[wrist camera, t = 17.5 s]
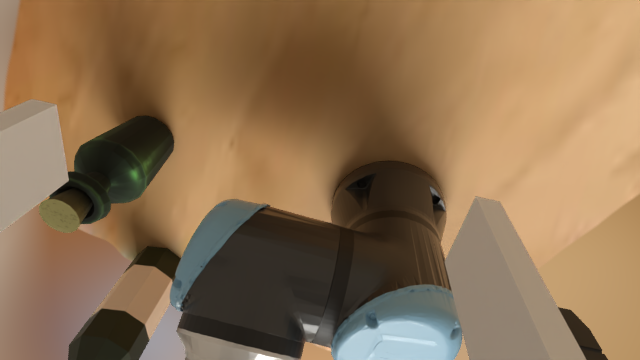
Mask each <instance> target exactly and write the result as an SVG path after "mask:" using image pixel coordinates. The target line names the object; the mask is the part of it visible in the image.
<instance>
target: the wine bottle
mask: <svg viewBox="0 0 640 360" xmlns="http://www.w3.org/2000/svg"><path fill="white" fill-rule="evenodd" d="M180 260H181V259H180V258H179V257H178V256H176V255H175V254H174V253H172V252H171V251H170V250H169V249H167V248H158V247H146V248H145V249H144V250H143V251H142V252H141V253H140V254H138V255H137V256H136V258H135V259H134V260H133V262H132V263H131V264H130V265H129V267H128V268H127V269H126V271H125V272H124V273H123V275H122V276H121V277H120V279H119V280H118V281H117V283H116V284H115V285H114V287H113V288H112V289H111V291H110V292H109V293H108V295H107V296H106V297H105V298H104V300H103V301H102V302H101V304H100V305H99V306H98V308H97V309H96V310H95V312H94V313H93V314H92V316H91V317H90V318H89V320H88V321H87V322H86V324H85V325H84V326H83V328H82V329H81V330H80V332H79V333H78V334H77V335H76V337H75V338H74V339H73V341H72V342H71V343H70V345H69V355H68V356H69V357H68V360H139V358H140V356H141V354H142V353H143V350H144V349H145V347H146V345H147V344H148V342H149V340H150V338H151V337H152V335H153V333H154V331H155V329H156V328H157V326H158V324H159V322H160V320H161V318H162V317H163V315H164V313H165V311H166V310H167V308H168V306H169V304H170V290H171V286H172V284H173V281H174V279H175V277H176V276H175V273H176V270H177V267H178V265H179V262H180Z"/></svg>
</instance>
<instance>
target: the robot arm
mask: <svg viewBox="0 0 640 360" xmlns="http://www.w3.org/2000/svg"><path fill="white" fill-rule="evenodd" d="M68 181H69V178H68V171H67V165H66V159H65V153H64V147H63V141H62V135H61V129H60V123H59V117H58V110H57V104H52V103H48V102H43V101H39V100H34V99H31V100H28V101H26V102H24V103H21V104H19V105H17V106H14V107H12V108H10V109H7V110H5V111H3V112H0V232H2V231H3V230H5V229H6V228H7V227H8V226H10V225H11V224H12V223H14V222H15V221H16V220H18V219H19V218H20V217H22V216H23V215H24V214H26V213H27V212H28V211H29V210H31V209H32V208H33V207H35V206H36V205H37V204H39V203H40V202H41V201H43V200H44V199H45V198H47V197H48V196H49V195H51V194H52V193H53V192H55V191H56V190H57V189H58V188H60V187H61V186H62V185H64V184H65V183H66V182H68ZM331 220H332V224H331V223H328V222H324V221H320V220H317V219H313V218H309V217H305V216H302V215H298V214H294V213H291V212H287V211H283V210H280V209H276V208H273V207H270V205H268V204H257V203H252V202H247V201H242V200H238V199H229V200H225V201H223V202H221V203H219V204H218V205H216V206H215V207H214V208H213V209H212V210H211V211H210V212H209V213H208V214H207V215H206V217H205V218H204V219H203V220H202V222H201V223H200V225H199V226H198V228H197V229H196V231H195V233H194V234H193V236H192V238H191V240H190V241H189V243H188V245H187V247H186V249H185V251H184V253H183V256H182V258H181V260H180V262H179V265H178V267H177V270H176V273H175V276H176V277H175V279H174V281H173V284H172V286H171V290H170V303H171V304H172V306H174V307H175V308H176V309H177V311H182V312H183V314H182V317H181V319H180V322H179V325H178V328H177V333H178V336H179V338H180V340H181V342H182V344H183V346H184V349H185V353H186V358H185V360H301V356H302V352H303V347H304V343H305V342H310V343H315V344H319V345H322V346H326V347H330V348H331V350H332V351H331V354H332V356H333V359H334V360H454V359H455V357H456V356H457V354H458V352H459V349H460V347H461V343H462V332H463V336H464V340H465V344H466V347H467V351H468V356H469V359H470V360H608V359H607V358H606V356H605V355H604V354H602V349H601V347H600V346H599V344H598V343H597V341H596V339H595V337H594V336H593V334H592V333H591V331H590V329H589V328H588V327H587V326H586V325H585V324H584V323H583V322H582V321H581V320H580V319H579V318H578V317H577V316H576V315H575V314H574V313H573V312H572V311H571V310H568V309H563V308H559V307H557V305H556V303H555V301H554V299H553V298H552V296H551V294H550V292H549V290H548V289H547V287H546V285H545V283H544V281H543V279H542V277H541V276H540V274H539V272H538V270H537V268H536V267H535V265H534V263H533V261H532V259H531V257H530V256H529V254H528V252H527V250H526V248H525V246H524V245H523V243H522V241H521V239H520V237H519V235H518V234H517V232H516V230H515V228H514V226H513V224H512V223H511V221H510V219H509V217H508V215H507V214H506V212H505V210H504V208H503V206H502V204H501V203H500V202H499V201H495V200H490V199H486V198H481V197H477V196H476V197H475V199H474V201H473V203H472V205H471V207H470V210H469V212H468V214H467V216H466V218H465V220H464V222H463V224H462V226H461V228H460V230H459V233H458V235H457V237H456V239H455V241H454V243H453V245H452V247H451V249H450V251H449V253H448V256H447V258H446V260H445V257H444V253H443V249H442V246H441V240H442V236H443V232H444V228H445V224H446V206H445V202H444V199H443V195H442V193H441V190H440V188H439V186H438V185H437V183H436V182H435V181H434V180H433V178H432V177H431V176H429V175H428V174H427V173H426V172H424V171H423V170H421V169H419V168H417V167H415V166H413V165H410V164H407V163H403V162H396V161H381V162H375V163H371V164H368V165H365V166H363V167H360V168H358V169H357V170H355V171H353V172H352V173H351V174H349V175H348V176H347V177H346V178H345V179H344V180H343V181H342V182H341V184H340V185H339V186H338V188H337V190H336V192H335V195H334V198H333V203H332V210H331Z"/></svg>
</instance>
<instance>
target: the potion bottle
mask: <svg viewBox="0 0 640 360" xmlns="http://www.w3.org/2000/svg"><path fill="white" fill-rule="evenodd" d="M173 147H174V140H173V137H172V134H171V132H170V131H169V130H168V128H167V127H166V126H165V125H164V124H163V123H162V122H160V121H159V120H157V119H155V118H152V117H149V116H137V117H135V118H133V119H131V120H129V121H127V122H125V123H123V124H121V125H119V126H117V127H115V128H113V129H111V130H109V131H107V132H105V133H103V134H101V135H99V136H98V137H96V138H94V139H92V140H90V141H88V142H86V143H85V144H83V145H81V146H80V148H79V150H78V152H77V153H76V155H75V160H74V169H75V171H74V172H68V178H69V181H68V182H66V183H65V184H64V185H62V186H61V187H60V188H58V189H57V190H56V191H55V192H53V193H52V194H51V195H50V198H49V199H47V200H45V201H43V202H41V204H40V206H39V212H40V215H41V217H42V219H43V220H44V221H45V222H46V223H47V224H48V225H49V226H50V227H52V228H53V229H55V230H58V231H61V232H64V233H68V232H73V231H75V230H77V229H78V227H79V226H80V224H91V223H93V222H95V221H98V220H100V219H102V218H104V217H106V216H107V214H108V213H109V211H110V210H111V203H127V202H131V201H133V200H135V199H137V198H139V197H140V196H141V195H142V193H143V192H144V190H145V189H146V188H147V186H148V185H149V184H150V182H151V181H152V179H153V178H154V177H155V175H156V174H157V173H158V171H159V170H160V168H161V167H162V166H163V164H164V163H165V162H166V160H167V159H168V157H169V156H170V154H171V153H172V152H173Z"/></svg>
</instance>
